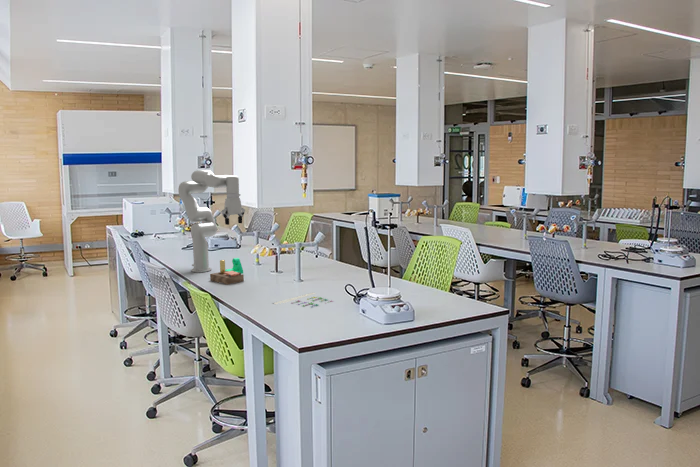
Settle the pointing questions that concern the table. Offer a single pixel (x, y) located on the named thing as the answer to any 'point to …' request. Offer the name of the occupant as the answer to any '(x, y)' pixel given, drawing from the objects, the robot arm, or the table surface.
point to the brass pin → (222, 266)
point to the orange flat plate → (232, 273)
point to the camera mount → (236, 266)
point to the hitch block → (226, 278)
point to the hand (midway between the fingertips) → (233, 223)
